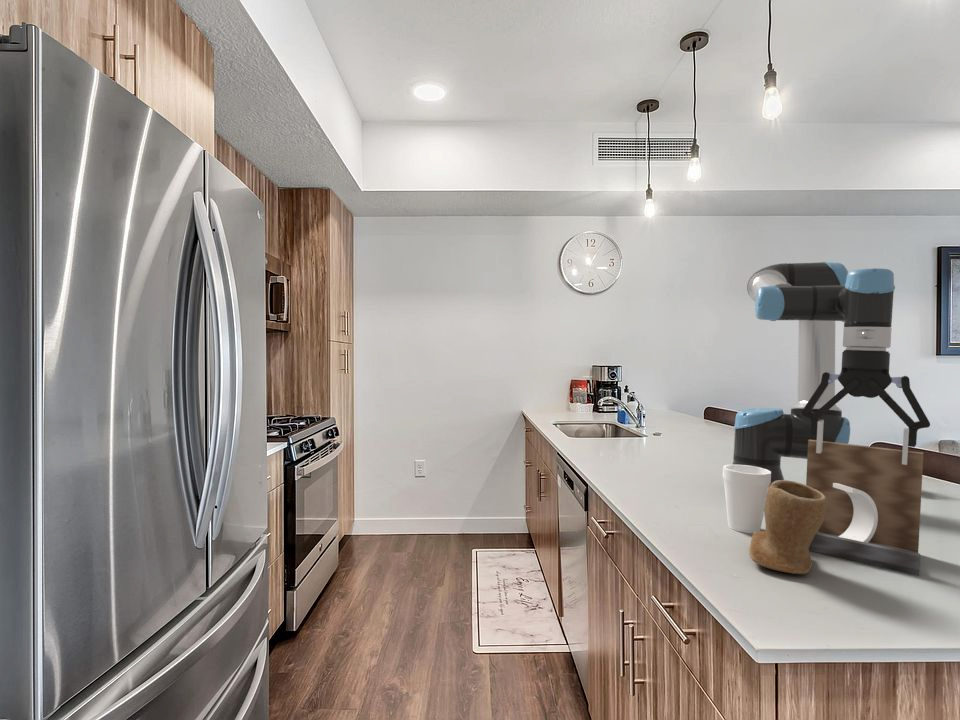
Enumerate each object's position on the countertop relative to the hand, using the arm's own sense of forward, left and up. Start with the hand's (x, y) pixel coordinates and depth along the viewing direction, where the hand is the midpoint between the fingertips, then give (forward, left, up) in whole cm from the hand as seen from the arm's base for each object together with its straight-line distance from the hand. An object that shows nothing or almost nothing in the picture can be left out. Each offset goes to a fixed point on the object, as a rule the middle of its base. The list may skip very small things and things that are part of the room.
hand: (859, 457), depth 104 cm
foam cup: (-20, -1, -19) cm, 27 cm away
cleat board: (0, 0, -19) cm, 19 cm away
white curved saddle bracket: (0, 0, -18) cm, 18 cm away
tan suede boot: (-10, -17, -19) cm, 27 cm away
